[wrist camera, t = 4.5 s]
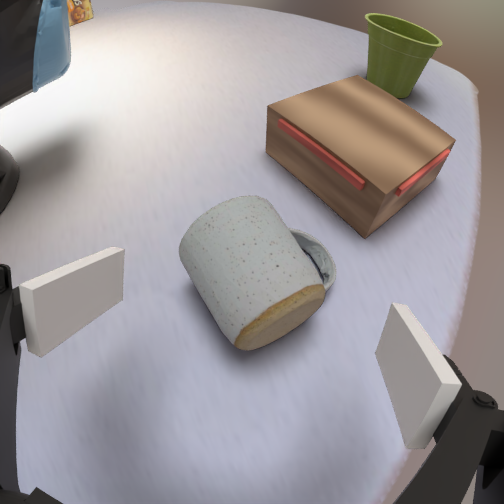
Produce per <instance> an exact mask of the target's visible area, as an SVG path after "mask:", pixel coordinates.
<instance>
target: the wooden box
mask: <svg viewBox="0 0 504 504" xmlns="http://www.w3.org/2000/svg"><path fill="white" fill-rule="evenodd" d="M455 141H456V140H455V139H454V138H452V137H451V136H450V135H449V134H447V133H446V132H445V131H443V130H442V129H441V128H439V127H438V126H437V125H435V124H434V123H432V122H431V121H430V120H428V119H427V118H425V117H424V116H423V115H421V114H420V113H418V112H417V111H415V110H414V109H412V108H411V107H409V106H408V105H406V104H405V103H403V102H402V101H400V100H399V99H397V98H395V97H394V96H392V95H391V94H389V93H387V92H386V91H384V90H382V89H381V88H379V87H377V86H376V85H374V84H372V83H371V82H369V81H367V80H365V79H364V78H362V77H360V76H358V75H356V76H353V77H349V78H346V79H343V80H339V81H336V82H333V83H330V84H327V85H324V86H321V87H318V88H315V89H312V90H309V91H306V92H303V93H300V94H297V95H295V96H292V97H289V98H286V99H284V100H281V101H278V102H276V103H273V104H271V105H268V106H267V131H266V153H267V154H269V155H270V156H271V157H272V158H274V159H275V160H276V161H277V162H278V163H280V164H281V165H282V166H283V167H284V168H286V169H287V170H288V171H289V172H290V173H292V174H293V175H294V176H295V177H296V178H298V179H299V180H300V181H301V182H302V183H303V184H305V185H306V186H307V187H308V188H309V189H310V190H311V191H313V192H314V193H315V194H316V195H317V196H318V197H319V198H321V199H322V200H323V201H324V202H325V203H326V204H327V205H328V206H330V207H331V208H332V209H333V210H334V211H335V212H336V213H337V214H338V215H339V216H341V217H342V218H343V219H344V220H345V221H346V222H347V223H348V224H349V225H350V226H351V227H353V228H354V229H355V230H356V231H357V232H358V233H359V234H360V235H361V236H362V237H363V238H364V239H365V238H366V237H368V236H369V235H370V234H371V233H373V232H374V231H375V230H376V229H377V228H379V227H380V226H381V225H382V224H383V223H385V222H386V221H387V220H388V219H389V218H391V217H392V216H393V215H394V214H395V213H397V212H398V211H399V210H400V209H401V208H402V207H404V206H405V205H406V204H407V203H408V202H409V201H411V200H412V199H413V198H414V197H415V196H416V195H418V194H419V193H420V192H421V191H422V190H423V189H424V188H426V187H427V186H428V185H429V184H430V183H431V182H432V181H433V180H435V179H436V177H437V175H438V173H439V172H440V170H441V168H442V166H443V164H444V162H445V160H446V158H447V157H448V155H449V153H450V151H451V149H452V147H453V145H454V143H455Z"/></svg>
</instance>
